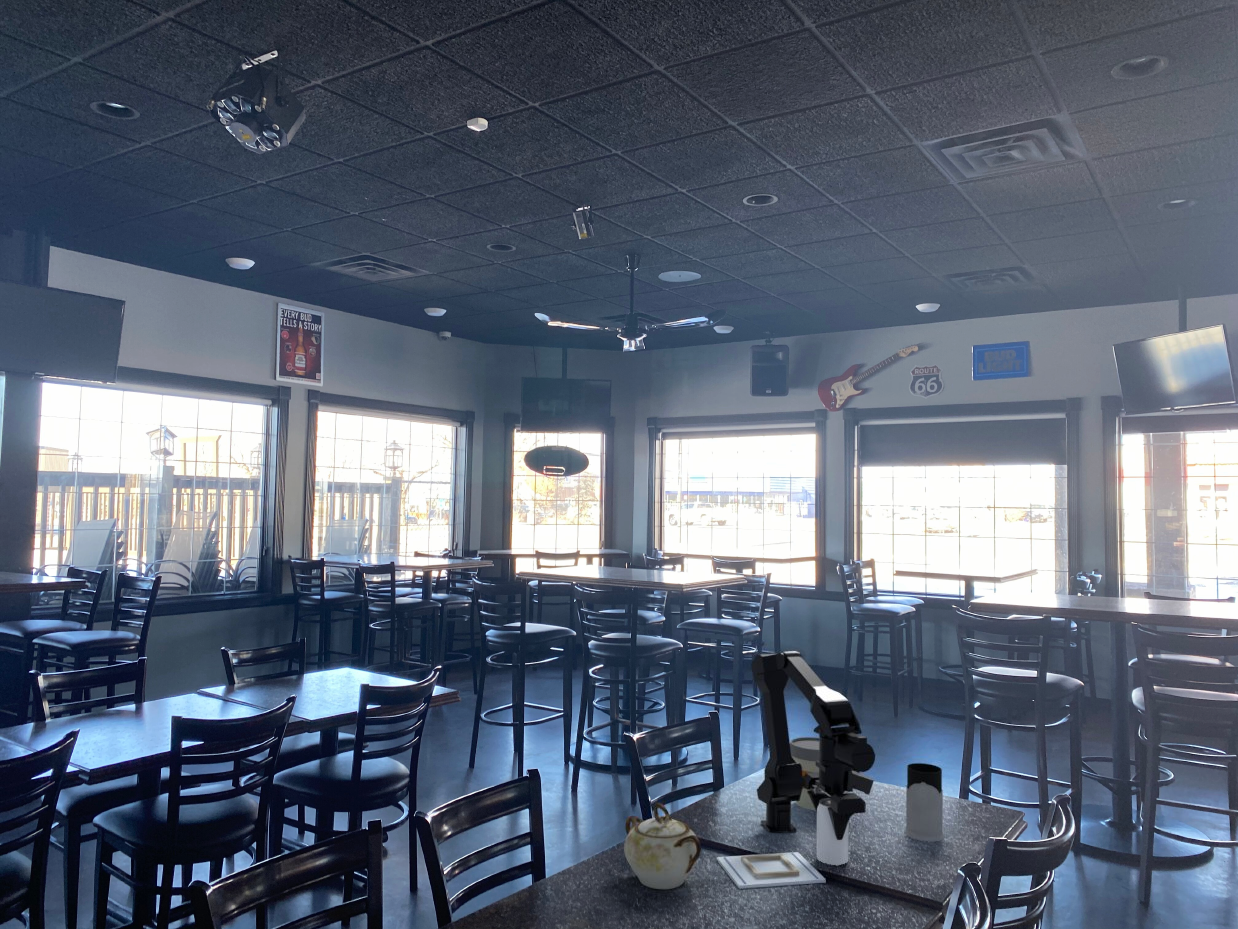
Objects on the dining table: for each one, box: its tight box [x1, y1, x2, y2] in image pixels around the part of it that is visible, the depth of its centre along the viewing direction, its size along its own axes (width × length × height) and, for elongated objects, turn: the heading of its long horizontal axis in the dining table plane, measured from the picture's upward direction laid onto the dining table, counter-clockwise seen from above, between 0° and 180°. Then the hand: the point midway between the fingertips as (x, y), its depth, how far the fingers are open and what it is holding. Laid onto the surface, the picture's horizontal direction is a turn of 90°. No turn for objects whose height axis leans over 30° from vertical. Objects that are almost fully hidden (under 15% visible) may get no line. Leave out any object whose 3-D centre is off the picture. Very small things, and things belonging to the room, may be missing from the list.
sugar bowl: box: [623, 802, 702, 890], centre depth 177 cm, size 20×15×15 cm
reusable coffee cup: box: [790, 736, 819, 811], centre depth 224 cm, size 13×13×15 cm
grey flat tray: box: [716, 851, 826, 890], centre depth 183 cm, size 14×18×1 cm
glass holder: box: [903, 762, 945, 843], centre depth 207 cm, size 9×14×15 cm, turn 158°
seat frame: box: [741, 854, 799, 879], centre depth 183 cm, size 9×9×1 cm
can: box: [816, 798, 849, 865], centre depth 189 cm, size 6×6×12 cm
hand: (832, 833), depth 189 cm, fingers closed on can, 6 cm apart
